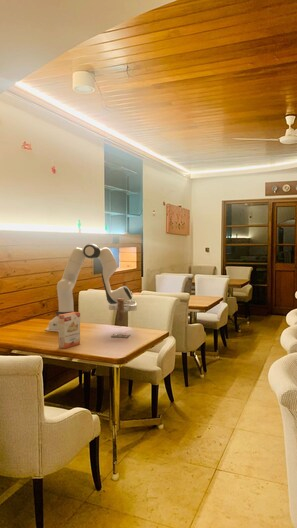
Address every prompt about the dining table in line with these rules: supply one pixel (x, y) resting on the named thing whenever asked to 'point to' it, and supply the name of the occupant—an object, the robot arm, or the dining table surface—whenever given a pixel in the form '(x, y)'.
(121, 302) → the walnut tube
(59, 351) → the dining table surface
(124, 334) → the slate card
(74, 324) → the cracker box
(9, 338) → the dining table surface
